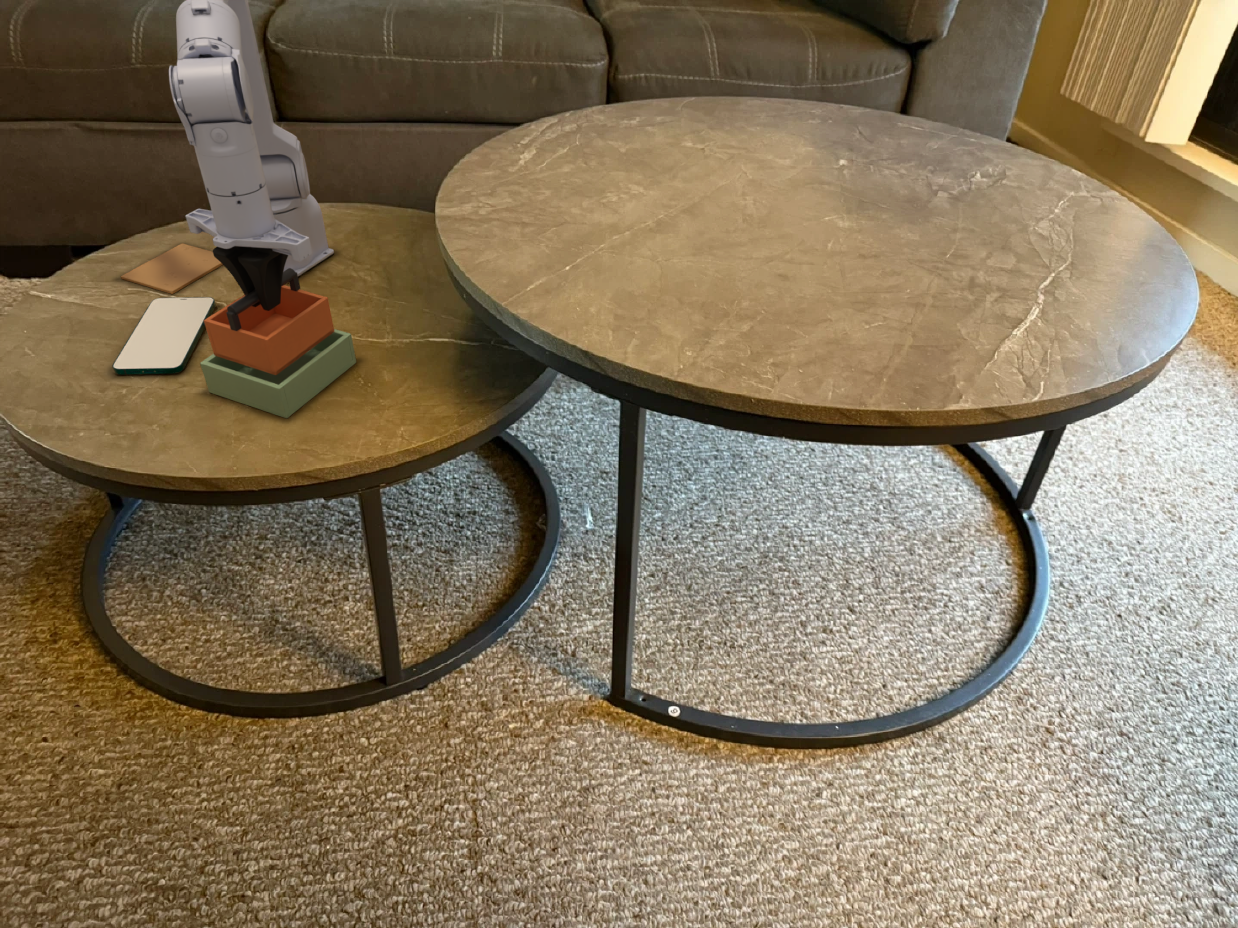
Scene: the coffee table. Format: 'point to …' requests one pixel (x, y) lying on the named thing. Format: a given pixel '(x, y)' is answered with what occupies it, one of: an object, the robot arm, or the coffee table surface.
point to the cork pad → (174, 268)
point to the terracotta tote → (271, 327)
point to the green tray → (282, 377)
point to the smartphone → (165, 336)
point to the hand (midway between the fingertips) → (265, 304)
